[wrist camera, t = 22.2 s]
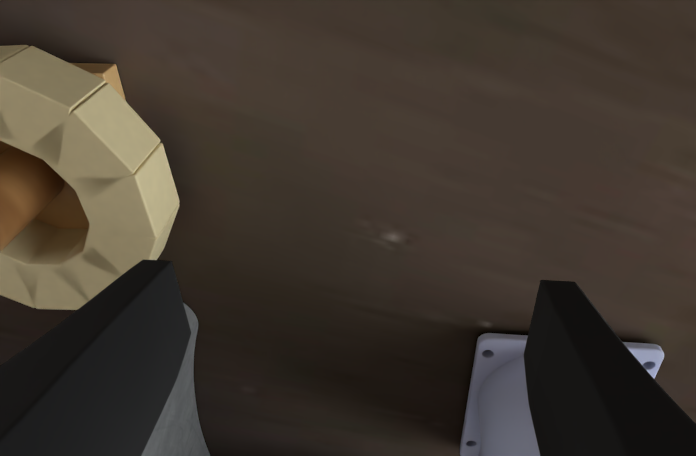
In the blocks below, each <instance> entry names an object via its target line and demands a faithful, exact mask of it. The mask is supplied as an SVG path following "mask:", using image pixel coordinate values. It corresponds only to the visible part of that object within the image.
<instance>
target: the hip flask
mask: <svg viewBox="0 0 696 456" xmlns="http://www.w3.org/2000/svg"><path fill="white" fill-rule="evenodd" d="M183 304H184V308H185V311H186V315H187V319H188V322H189V326H190V330H191V336H190V339H189V343H188V346H187V349H186V353H185V356H184V359H183V362H182V365H181V368H180V371H179V374H178V377H177V380H176V382H175V384H174V387H173V389H172V391H171V393H170V395H169V398H168V400H167V402H166V404H165V406H164V408H163V411H162V413H161V415H160V417H159V419H158V421H157V423H156V426H155V428H154V430H153V432H152V434H151V436H150V438H149V441H148V443H147V445H146V447H145V449H144V451H143V453H142V455H141V456H210V453H209V451H208V448H207V446H206V443H205V440H204V437H203V434H202V430H201V426H200V423H199V418H198V413H197V406H196V398H195V391H194V350H195V342H196V336H197V331H198V319H197V317H196V315H195V313H194V312H193V311H192V310H191V309H190V308H189V307H188V306H187V305H186V304H185V303H183Z"/></svg>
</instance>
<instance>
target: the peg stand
mask: <svg viewBox="0 0 696 456" xmlns="http://www.w3.org/2000/svg"><path fill="white" fill-rule="evenodd" d="M70 64H72V65H74V66H76V67H79V68H81V69H83V70H85V71H87V72H89V73H91V74H93V75H95V76H98V77H100V78H102V79H104V80H105V81H106V83H109V84H110V85H111V86H112V87H113V88H114V89H115V90H116V91H117V92H118V93H119V95H120V96H121V97H122V98H123V99H124V100H125V96H124V92H123V88H122V85H121V81H120V77H119V74H118V70H117V66H116V64H99V63H70ZM106 83H105V84H106ZM125 101H126V100H125ZM34 218H35V219H37V220H40V221H42V222H44V223H47V224H49V225H52V226H54V227H56V228H59V229H88V228H89V222H88V219H87V217H86V215H85V212H84V210H83V207H82V205H81V203H80V200H79V198H78V196H77V193H76V191H75V190H74V189H73V188H72V187H71V186H70V185H69V184H68V183H67V182H66V181H65V180H64V179H63V178H62V177H61V176H60V175H59V174H58V173H57V172H55V171H54V170H53V169H52V168H51V167H50V166H49V165H48V164H47V163H46V162H45V161H44V160H43V159H41V158H38V157H36V156H34V155H31V154H29V153H27V152H25V151H22V150H20V149H18V148H16V147H13V146H11V145H9V144H6V143H4V142H2V141H0V252H1V251H2V250H3V249H4V248H5V247H6V246H7V245H8V244H9V243H10V242H11V241H12V240H13V239H14V238H15V237H16V236H17V235H18V234H19V233H20V232H21V231H22V230H23V229H24V228H25V227H26V226H27V225H28V224H29V223H30V222H31V221H32V220H33V219H34Z"/></svg>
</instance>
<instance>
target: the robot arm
mask: <svg viewBox="0 0 696 456" xmlns="http://www.w3.org/2000/svg"><path fill="white" fill-rule="evenodd" d="M190 336H191V330H190V326H189V322H188V319H187V315H186V311H185V308H184V304H183V300H182V297H181V293H180V289H179V286H178V282H177V278H176V275H175V271H174V267H173V264H172V261H163V260H144V259H143V260H142V261H140V262H139V263H137V264H136V265H135V266H133V267H132V268H131V269H129V270H128V271H127V272H125V273H124V274H123V275H121V276H120V277H119V278H118V279H116V280H115V281H114V282H112V283H111V284H110V285H109V286H107V287H106V288H105V289H104V290H102V291H101V292H100V293H98V294H97V295H96V296H95V297H93V298H92V299H91V300H90V301H88V302H87V303H86V304H84V305H83V306H82V307H80V308H79V309H78V310H77V311H75V312H74V313H73V314H71V315H70V316H69V317H67V318H66V319H65V320H64V321H62V322H61V323H60V324H58V325H57V326H56V327H54V328H53V329H52V330H50V331H49V332H47V333H46V334H45V335H43V336H42V337H40V338H39V339H38V340H36V341H35V342H33V343H32V344H31V345H29V346H28V347H26V348H25V349H24V350H22V351H21V352H19V353H18V354H17V355H15V356H14V357H12V358H11V359H10V360H8V361H7V362H5V363H4V364H2V365H1V366H0V456H141V455H142V453H143V451H144V449H145V447H146V445H147V443H148V441H149V438H150V436H151V434H152V432H153V430H154V428H155V426H156V423H157V421H158V419H159V417H160V415H161V413H162V411H163V408H164V406H165V404H166V402H167V400H168V398H169V395H170V393H171V391H172V389H173V387H174V384H175V382H176V380H177V377H178V374H179V371H180V368H181V365H182V362H183V359H184V356H185V353H186V349H187V346H188V343H189V339H190ZM485 350H490V351H485ZM663 358H664V353H663V351H662V349H661V347H660V346H658V345H656V344H647V343H632V342H622V341H621V340H620V338H619V337H618V336H617V335H616V333H615V332H614V331H613V330H612V328H611V327H610V326H609V325H608V323H607V322H606V321H605V320H604V318H603V317H602V316H601V314H600V313H599V312H598V311H597V309H596V308H595V307H594V305H593V304H592V303H591V302H590V300H589V299H588V298H587V296H586V295H585V294H584V292H583V291H582V290H581V289H580V287H579V286H578V285H577V284H576V283H575V282H568V281H549V280H541V281H540V285H539V290H538V294H537V298H536V303H535V307H534V312H533V316H532V320H531V325H530V329H529V333H528V336H527V335H513V334H498V333H485V334H482V335H481V336H479V337H478V340H477V345H476V351H475V357H474V363H473V369H472V375H471V381H470V388H469V394H468V400H467V406H466V412H465V418H464V424H463V430H462V436H461V442H460V455H461V456H696V424H695V423H694V422H693V421H692V419H691V418H690V417H689V416H688V415H687V414H686V413H685V412H684V411H683V410H682V409H681V408H680V407H679V406H678V405H677V404H676V403H675V402H674V400H673V399H672V398H671V397H670V396H669V395H668V394H667V393H666V392H665V391H664V390H663V388H662V387H661V386H660V385H659V384H658V383H657V382H656V381H655V380H654V378H655V376H656V374H657V372H658V369H659V367H660V365H661V363H662V361H663Z"/></svg>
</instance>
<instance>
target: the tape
mask: <svg viewBox="0 0 696 456" xmlns="http://www.w3.org/2000/svg"><path fill="white" fill-rule="evenodd" d="M105 83H106V81H105V80H104V79H102V78H100V77H98V76H95V75H93V74H91V73H89V72H87V71H85V70H83V69H81V68H79V67H76V66H74V65H72V64H70V63H68V62H66V61H64V60H62V59H59V58H57V57H55V56H53V55H51V54H49V53H47V52H45V51H43V50H40V49H38V48H36V47H34V46H30V47H29V46H28V45H11V46H0V141H2V142H4V143H6V144H9V145H11V146H13V147H16V148H18V149H20V150H22V151H25V152H27V153H29V154H31V155H34V156H36V157H38V158H41V159H43V160H44V161H45V162H46V163H47V164H48V165H49V166H50V167H51V168H52V169H53V170H54V171H55V172H57V173H58V174H59V175H60V176H61V177H62V178H63V179H64V180H65V181H66V182H67V183H68V184H69V185H70V186H71V187H72V188H73V189H74V190H75V191H76V193H77V196H78V198H79V200H80V203H81V205H82V207H83V210H84V212H85V215H86V217H87V219H88V222H89V228H88V229H59V228H56V227H54V226H52V225H49V224H47V223H44V222H42V221H40V220H37V219H35V218H34V219H33V220H32V221H31V222H30V223H29V224H28V225H27V226H26V227H25V228H24V229H23V230H22V231H21V232H20V233H19V234H18V235H17V236H16V237H15V238H14V239H13V240H12V241H11V242H10V243H9V244H8V245H7V246H6V247H5V248H4V249H3V250H2V251H1V252H0V295H2V296H4V297H7V298H9V299H12V300H14V301H17V302H19V303H22V304H25V305H27V306H30V307H32V308H35V307H36V308H37V309H60V310H78V309H79V308H80V307H82V306H83V305H84V304H86V303H87V302H88V301H90V300H91V299H92V298H93V297H95V296H96V295H97V294H98V293H100V292H101V291H102V290H104V289H105V288H106V287H107V286H109V285H110V284H111V283H112V282H114V281H115V280H116V279H118V278H119V277H120V276H121V275H123V274H124V273H125V272H127V271H128V270H129V269H131V268H132V267H133V266H135V265H136V264H137V263H139V262H140V261H142V260H143V259H144V260H157V259H158V258H159V256H160V254H161V253H162V251H163V249H164V247H165V245H166V242H167V239H168V236H169V234H170V231H171V228H172V225H173V222H174V220H175V217H176V214H177V211H178V209H179V202H180V201H179V197H178V194H177V191H176V187H175V184H174V180H173V177H172V174H171V170H170V167H169V163H168V160H167V157H166V153H165V150H164V146H163V144H162V143H159V142H160V139H159V138H158V136H157V135H156V134H155V133H154V132H153V131H152V130H151V129H150V128H149V127H148V125H147V124H146V123H145V122H144V121H143V120H142V119H141V118H140V117H139V116H138V114H137V113H136V112H135V111H134V110H133V109H132V108H131V107H130V106H129V105H128V103H127V102H126V101H125V100H124V99H123V98H122V97H121V96H120V95H119V93H118V92H117V91H116V90H115V89H114V88H113V87H112V86H111V85H110V84H109V83H106V84H105Z"/></svg>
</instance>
